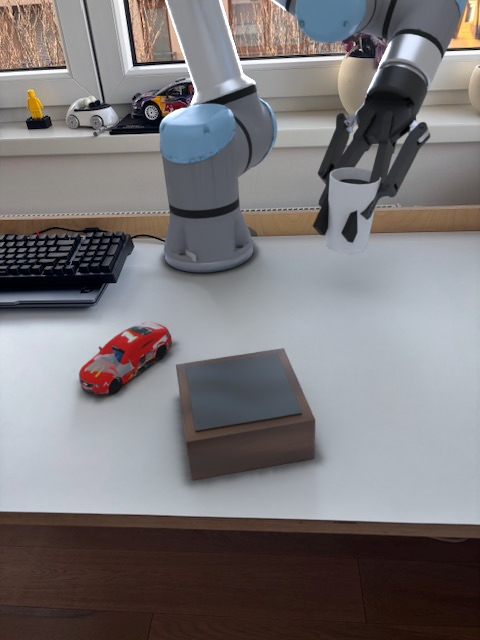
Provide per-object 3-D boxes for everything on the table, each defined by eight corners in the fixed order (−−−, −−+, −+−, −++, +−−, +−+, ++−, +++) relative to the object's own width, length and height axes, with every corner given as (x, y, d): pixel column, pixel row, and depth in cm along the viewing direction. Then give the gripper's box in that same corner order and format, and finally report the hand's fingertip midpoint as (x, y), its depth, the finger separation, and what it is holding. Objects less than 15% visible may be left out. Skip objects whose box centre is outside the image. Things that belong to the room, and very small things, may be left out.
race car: (102, 405, 61) (94, 377, 59) (71, 388, 64) (63, 361, 62) (180, 347, 70) (176, 321, 68) (150, 335, 73) (146, 310, 71)
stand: (181, 399, 61) (175, 362, 58) (284, 383, 63) (283, 346, 60) (191, 480, 51) (185, 440, 48) (314, 458, 52) (315, 418, 50)
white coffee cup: (337, 259, 73) (346, 187, 67) (314, 239, 78) (320, 170, 72) (379, 251, 75) (391, 181, 69) (353, 231, 80) (363, 165, 74)
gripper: (467, 103, 72) (397, 260, 71) (356, 94, 82) (292, 232, 80) (458, 65, 66) (382, 236, 65) (339, 60, 76) (270, 209, 74)
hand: (332, 234), depth 72 cm, fingers closed on white coffee cup, 4 cm apart
